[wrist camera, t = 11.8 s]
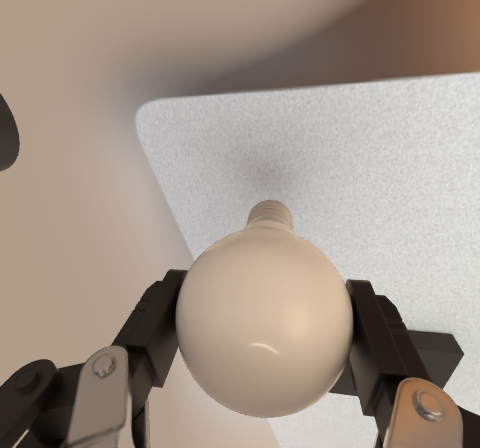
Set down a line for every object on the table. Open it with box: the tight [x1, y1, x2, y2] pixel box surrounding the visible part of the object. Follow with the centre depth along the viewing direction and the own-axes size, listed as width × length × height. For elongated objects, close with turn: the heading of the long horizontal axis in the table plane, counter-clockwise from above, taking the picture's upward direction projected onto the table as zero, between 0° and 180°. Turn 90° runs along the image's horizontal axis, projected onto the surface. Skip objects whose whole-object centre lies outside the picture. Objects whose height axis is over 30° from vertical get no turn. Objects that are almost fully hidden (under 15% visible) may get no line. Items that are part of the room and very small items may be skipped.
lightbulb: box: [175, 200, 354, 418], centre depth 12 cm, size 6×6×11 cm
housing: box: [329, 331, 464, 397], centre depth 28 cm, size 12×10×4 cm
